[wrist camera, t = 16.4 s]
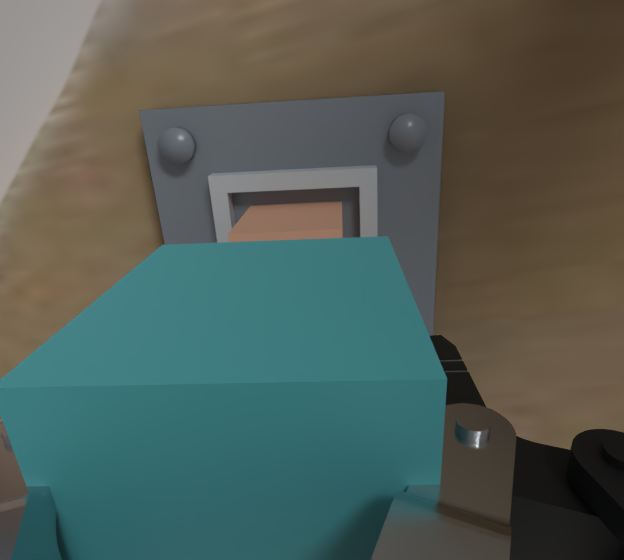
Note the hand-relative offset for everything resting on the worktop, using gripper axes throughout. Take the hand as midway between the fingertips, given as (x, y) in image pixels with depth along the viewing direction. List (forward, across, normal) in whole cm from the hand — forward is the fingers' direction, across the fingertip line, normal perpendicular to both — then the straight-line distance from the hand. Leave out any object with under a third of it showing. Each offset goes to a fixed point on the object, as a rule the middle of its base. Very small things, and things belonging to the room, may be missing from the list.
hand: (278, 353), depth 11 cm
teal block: (+1, 0, 0) cm, 1 cm away
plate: (+18, +1, +2) cm, 19 cm away
